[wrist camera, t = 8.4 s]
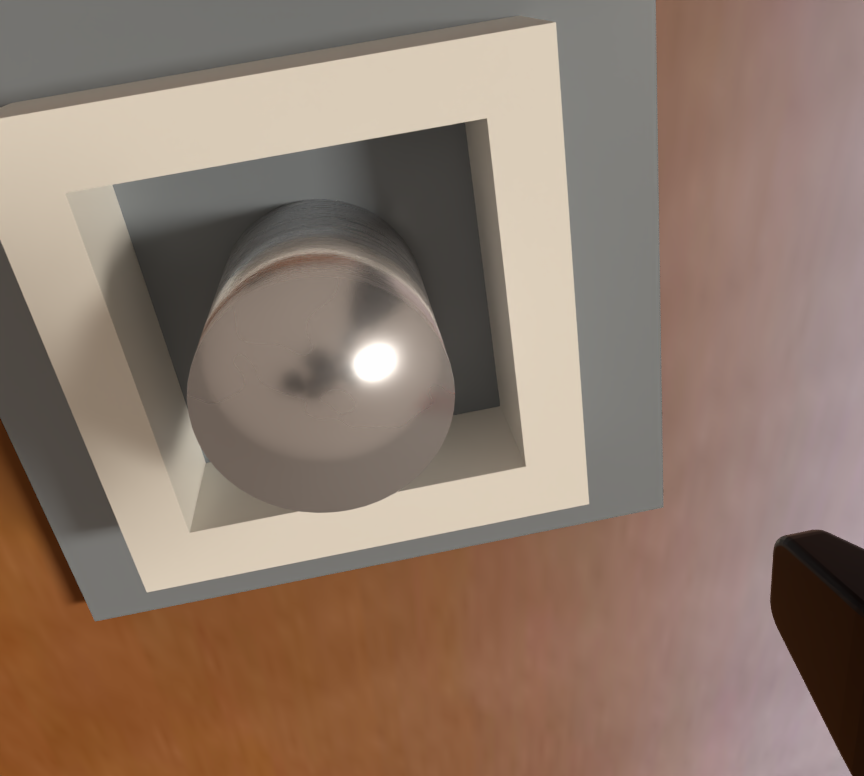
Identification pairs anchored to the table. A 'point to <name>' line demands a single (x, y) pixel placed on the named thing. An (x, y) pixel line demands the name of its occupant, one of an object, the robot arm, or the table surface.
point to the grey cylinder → (320, 362)
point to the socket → (344, 181)
